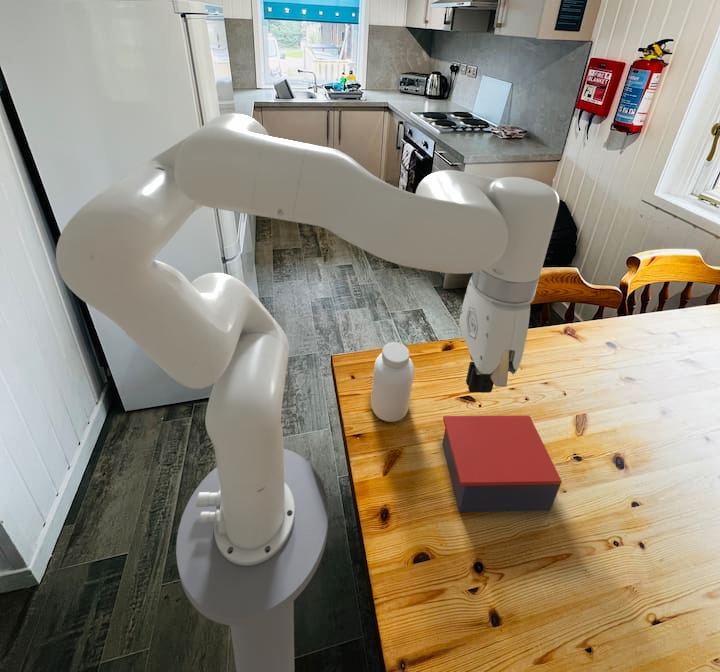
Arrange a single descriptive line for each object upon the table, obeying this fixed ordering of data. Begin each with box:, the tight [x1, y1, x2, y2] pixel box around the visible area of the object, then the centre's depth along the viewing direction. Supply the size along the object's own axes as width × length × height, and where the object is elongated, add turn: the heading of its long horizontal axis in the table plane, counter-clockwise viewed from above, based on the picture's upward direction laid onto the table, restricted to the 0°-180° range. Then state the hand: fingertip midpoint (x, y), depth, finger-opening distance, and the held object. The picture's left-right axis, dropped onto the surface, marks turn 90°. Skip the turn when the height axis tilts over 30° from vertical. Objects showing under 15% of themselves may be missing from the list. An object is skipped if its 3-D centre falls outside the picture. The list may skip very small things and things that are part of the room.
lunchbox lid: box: [442, 415, 562, 486], centre depth 68 cm, size 16×12×1 cm
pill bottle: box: [370, 341, 415, 423], centre depth 80 cm, size 8×8×15 cm
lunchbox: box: [442, 428, 561, 513], centre depth 69 cm, size 16×12×7 cm
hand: (478, 387), depth 55 cm, fingers closed
